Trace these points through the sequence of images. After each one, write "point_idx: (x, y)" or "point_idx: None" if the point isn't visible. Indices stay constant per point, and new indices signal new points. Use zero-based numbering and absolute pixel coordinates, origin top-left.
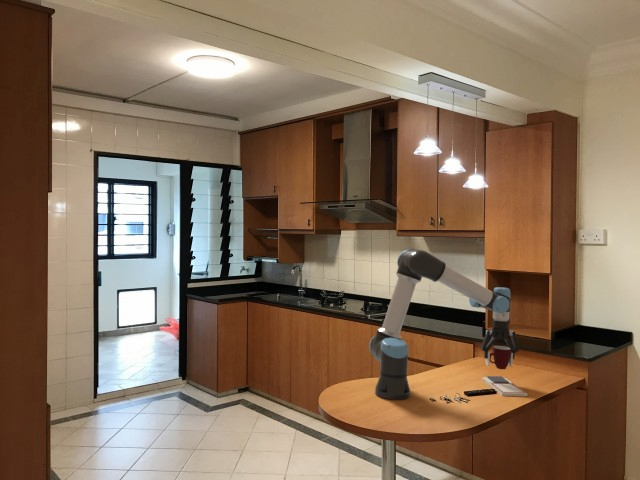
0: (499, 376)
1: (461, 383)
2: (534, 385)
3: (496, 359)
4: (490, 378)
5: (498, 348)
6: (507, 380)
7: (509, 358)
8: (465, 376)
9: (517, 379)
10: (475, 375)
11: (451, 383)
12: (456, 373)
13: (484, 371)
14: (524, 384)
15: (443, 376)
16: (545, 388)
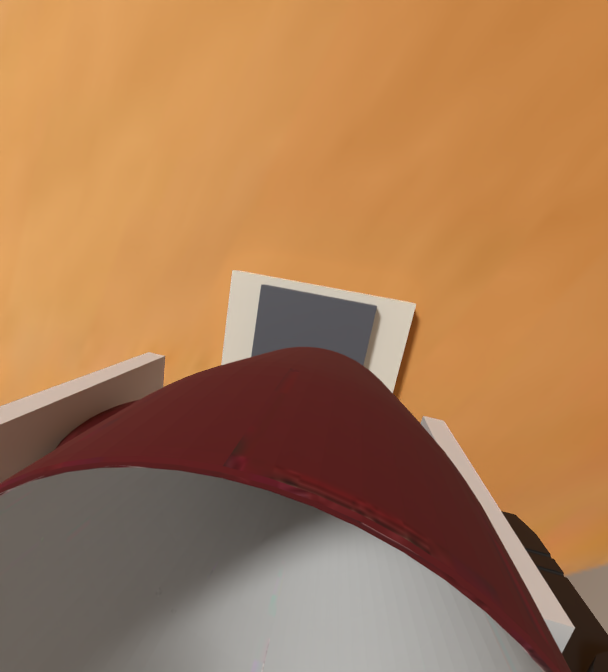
0: (359, 305)
1: (76, 332)
2: (562, 446)
3: (192, 487)
4: (252, 347)
5: (275, 414)
6: (385, 370)
7: (378, 594)
8: (154, 177)
9: (545, 288)
10: (242, 150)
11: (22, 325)
12: (116, 87)
13: (396, 4)
14: (497, 413)
15: (9, 171)
16: (591, 515)
